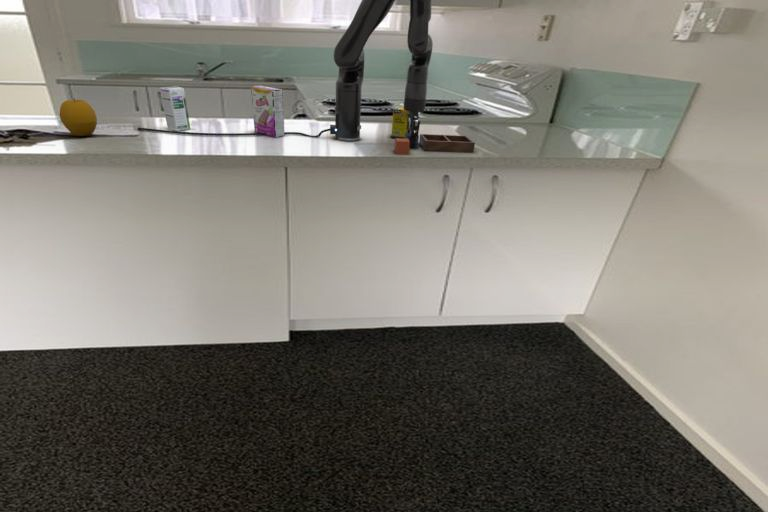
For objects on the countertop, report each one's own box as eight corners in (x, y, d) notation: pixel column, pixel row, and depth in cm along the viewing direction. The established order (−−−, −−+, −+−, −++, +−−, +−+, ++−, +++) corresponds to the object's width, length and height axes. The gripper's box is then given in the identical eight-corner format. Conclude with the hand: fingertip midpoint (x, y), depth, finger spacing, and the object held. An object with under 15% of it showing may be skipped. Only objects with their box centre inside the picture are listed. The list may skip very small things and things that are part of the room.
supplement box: (406, 139, 163) (408, 110, 158) (391, 137, 164) (393, 108, 159) (408, 136, 169) (410, 108, 164) (393, 134, 170) (395, 106, 164)
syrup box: (176, 131, 151) (169, 88, 144) (166, 128, 154) (159, 86, 147) (190, 129, 156) (184, 87, 149) (181, 126, 158) (174, 85, 151)
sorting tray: (424, 150, 149) (425, 140, 148) (419, 143, 159) (420, 133, 157) (473, 152, 152) (475, 142, 150) (464, 145, 161) (466, 135, 160)
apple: (80, 141, 132) (70, 101, 127) (57, 137, 135) (46, 98, 129) (107, 135, 140) (98, 98, 135) (85, 131, 143) (76, 95, 137)
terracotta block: (396, 154, 143) (397, 141, 141) (394, 150, 147) (395, 138, 145) (408, 154, 144) (409, 141, 141) (406, 151, 147) (407, 138, 145)
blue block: (405, 147, 152) (406, 135, 150) (403, 144, 156) (404, 132, 154) (417, 147, 153) (418, 135, 151) (415, 144, 157) (416, 132, 155)
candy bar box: (253, 132, 157) (249, 86, 149) (263, 130, 161) (260, 85, 153) (275, 138, 152) (272, 89, 144) (285, 136, 156) (283, 88, 148)
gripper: (401, 93, 152) (398, 140, 160) (408, 98, 140) (403, 150, 148) (421, 94, 153) (417, 141, 161) (430, 100, 141) (424, 150, 149)
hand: (410, 145), depth 154 cm, fingers closed on blue block, 4 cm apart
